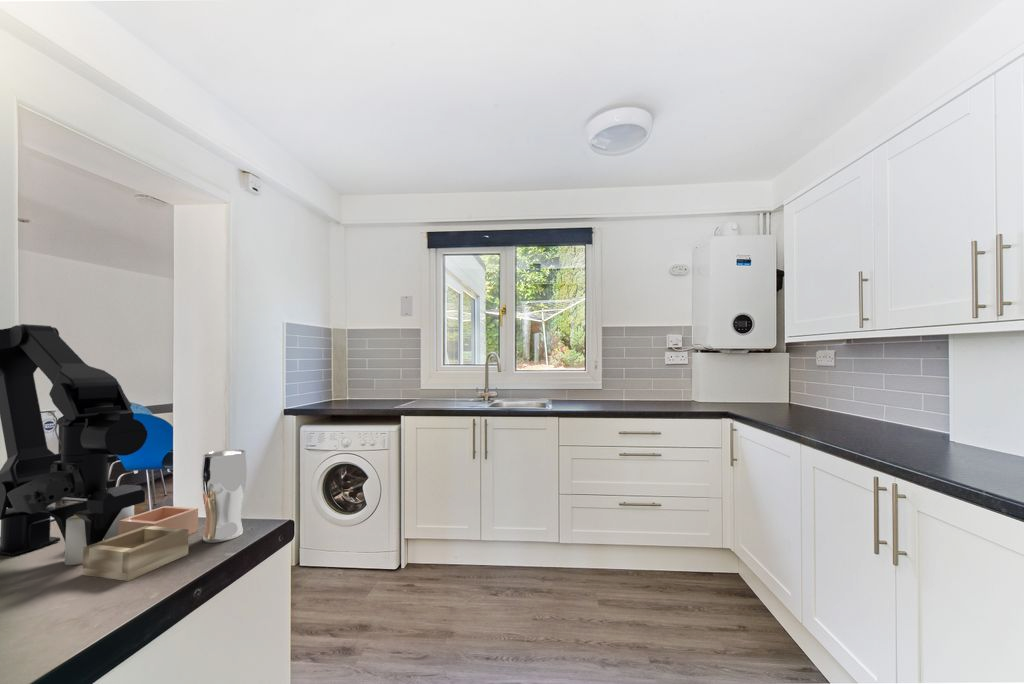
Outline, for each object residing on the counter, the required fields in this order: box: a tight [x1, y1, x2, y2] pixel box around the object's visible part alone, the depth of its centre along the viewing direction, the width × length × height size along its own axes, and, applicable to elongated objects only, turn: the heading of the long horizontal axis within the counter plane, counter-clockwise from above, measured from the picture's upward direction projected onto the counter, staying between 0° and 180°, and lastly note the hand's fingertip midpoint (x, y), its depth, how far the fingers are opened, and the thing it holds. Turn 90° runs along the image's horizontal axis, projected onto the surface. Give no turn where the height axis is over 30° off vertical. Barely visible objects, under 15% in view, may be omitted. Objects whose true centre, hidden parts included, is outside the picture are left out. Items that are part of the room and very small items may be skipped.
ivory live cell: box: [64, 511, 87, 566], centre depth 70 cm, size 4×4×8 cm
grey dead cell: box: [103, 505, 135, 541], centre depth 79 cm, size 4×4×8 cm
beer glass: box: [200, 449, 247, 544], centre depth 79 cm, size 7×7×15 cm
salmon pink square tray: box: [118, 505, 199, 535], centre depth 79 cm, size 8×8×4 cm
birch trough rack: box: [82, 526, 190, 582], centre depth 68 cm, size 9×9×4 cm
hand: (82, 549), depth 70 cm, fingers closed on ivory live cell, 4 cm apart
